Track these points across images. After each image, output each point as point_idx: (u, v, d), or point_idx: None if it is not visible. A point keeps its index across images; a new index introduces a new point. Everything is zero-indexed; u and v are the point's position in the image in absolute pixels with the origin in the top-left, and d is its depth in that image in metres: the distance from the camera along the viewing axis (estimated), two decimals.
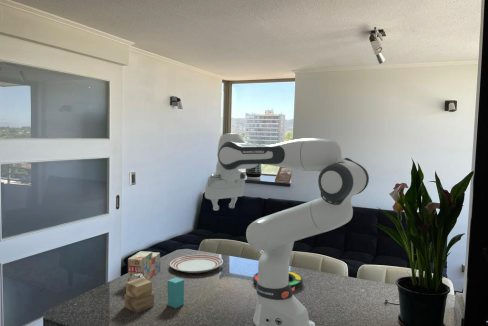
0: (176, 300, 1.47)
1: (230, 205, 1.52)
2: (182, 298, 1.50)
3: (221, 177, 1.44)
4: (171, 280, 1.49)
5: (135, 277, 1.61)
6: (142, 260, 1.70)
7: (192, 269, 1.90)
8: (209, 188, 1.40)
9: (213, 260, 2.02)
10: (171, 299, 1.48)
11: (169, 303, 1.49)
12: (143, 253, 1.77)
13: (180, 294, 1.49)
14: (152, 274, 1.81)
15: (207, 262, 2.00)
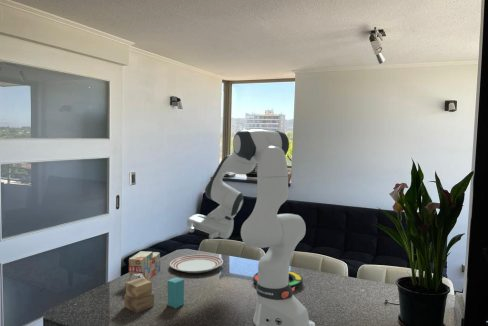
0: (176, 300, 1.47)
1: None
2: (182, 298, 1.50)
3: None
4: (171, 280, 1.49)
5: (135, 277, 1.61)
6: (143, 260, 1.70)
7: (192, 269, 1.90)
8: None
9: (213, 260, 2.02)
10: (171, 299, 1.48)
11: (169, 303, 1.49)
12: (143, 253, 1.78)
13: (180, 294, 1.49)
14: (152, 274, 1.81)
15: (207, 262, 2.00)
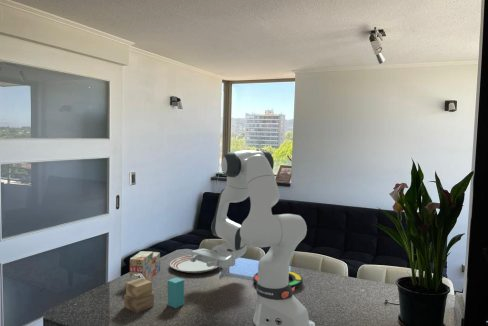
0: (176, 300, 1.47)
1: None
2: (182, 298, 1.50)
3: None
4: (171, 280, 1.49)
5: (135, 277, 1.61)
6: (144, 260, 1.70)
7: (192, 269, 1.90)
8: None
9: None
10: (171, 299, 1.48)
11: (169, 303, 1.49)
12: (144, 253, 1.78)
13: (180, 294, 1.49)
14: (153, 274, 1.81)
15: None
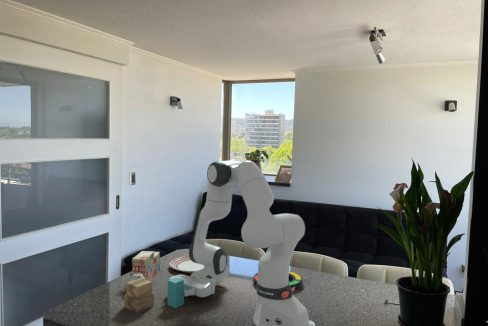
0: (176, 300, 1.47)
1: None
2: (182, 298, 1.50)
3: None
4: (171, 280, 1.49)
5: (135, 277, 1.61)
6: (146, 260, 1.71)
7: (192, 269, 1.90)
8: None
9: None
10: (171, 299, 1.48)
11: (169, 303, 1.49)
12: (145, 253, 1.78)
13: (180, 294, 1.49)
14: (154, 273, 1.82)
15: None
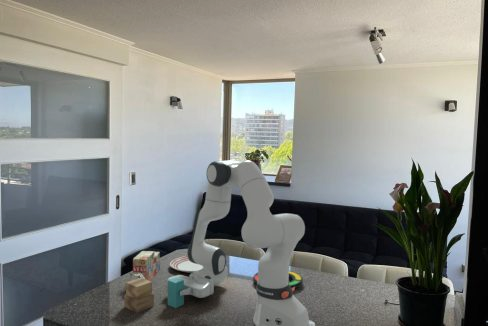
0: (176, 300, 1.47)
1: None
2: (182, 298, 1.50)
3: None
4: (171, 280, 1.49)
5: (135, 277, 1.61)
6: (147, 259, 1.71)
7: (192, 269, 1.90)
8: None
9: None
10: (171, 299, 1.48)
11: (169, 303, 1.49)
12: (146, 253, 1.78)
13: None
14: (154, 273, 1.82)
15: None
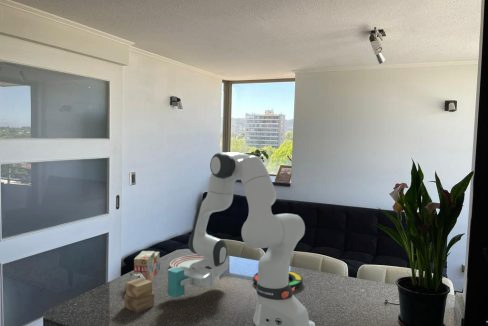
0: (176, 290, 1.46)
1: None
2: (183, 288, 1.49)
3: None
4: (171, 270, 1.48)
5: (135, 277, 1.61)
6: (148, 259, 1.71)
7: None
8: None
9: None
10: (172, 289, 1.47)
11: (170, 293, 1.48)
12: (146, 253, 1.78)
13: None
14: (154, 273, 1.82)
15: None
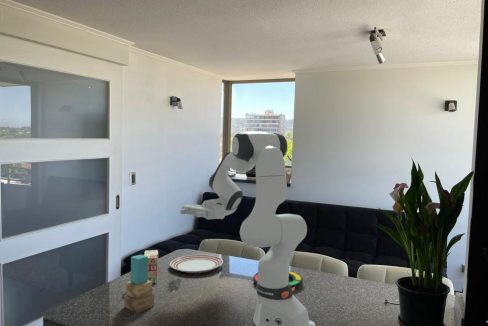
0: (138, 277, 1.44)
1: None
2: (145, 275, 1.47)
3: None
4: (134, 257, 1.46)
5: None
6: (157, 258, 1.73)
7: (192, 269, 1.90)
8: None
9: (213, 260, 2.02)
10: (134, 276, 1.45)
11: (132, 280, 1.46)
12: (151, 252, 1.80)
13: (143, 271, 1.46)
14: None
15: (207, 262, 2.00)
